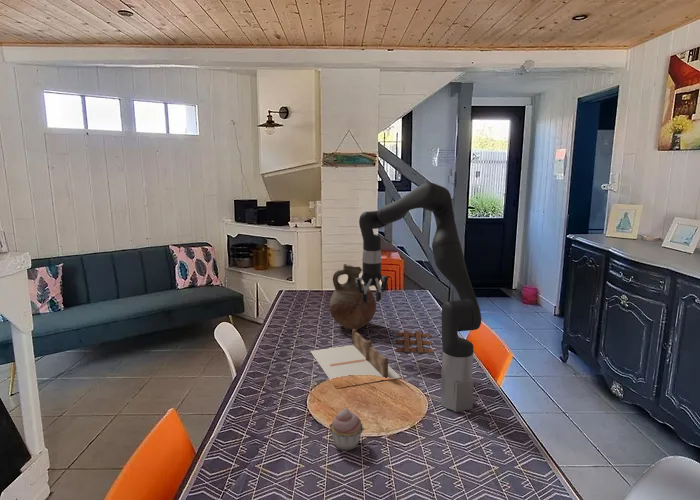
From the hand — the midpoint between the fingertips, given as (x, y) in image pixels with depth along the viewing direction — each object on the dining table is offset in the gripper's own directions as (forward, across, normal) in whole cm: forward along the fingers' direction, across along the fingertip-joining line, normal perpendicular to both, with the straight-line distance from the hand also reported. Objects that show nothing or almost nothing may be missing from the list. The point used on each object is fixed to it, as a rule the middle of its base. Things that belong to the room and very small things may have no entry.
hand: (371, 301), depth 183 cm
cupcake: (+20, -32, -60) cm, 71 cm away
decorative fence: (+20, +19, -2) cm, 28 cm away
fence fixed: (+19, -6, -20) cm, 28 cm away
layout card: (+19, -13, -13) cm, 27 cm away
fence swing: (+19, -6, -3) cm, 20 cm away
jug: (+20, +1, +25) cm, 32 cm away
